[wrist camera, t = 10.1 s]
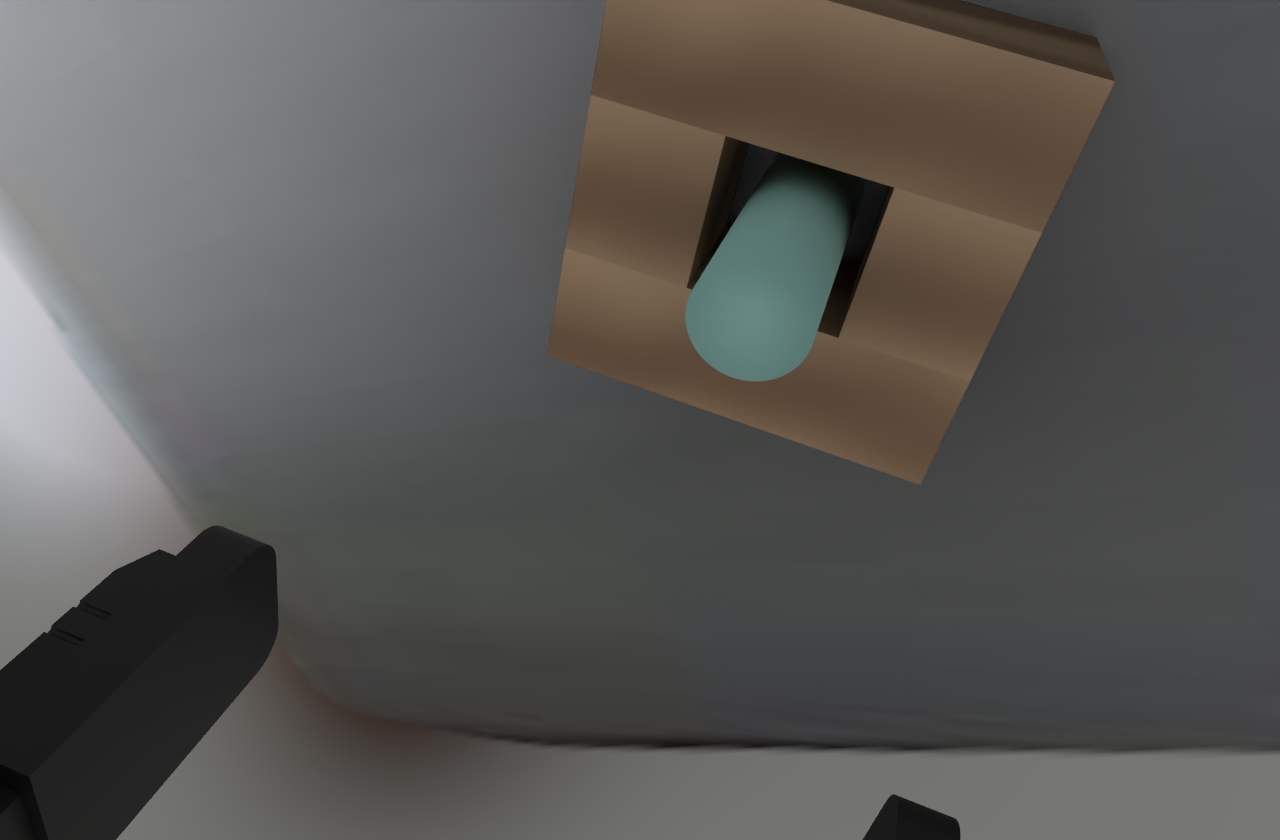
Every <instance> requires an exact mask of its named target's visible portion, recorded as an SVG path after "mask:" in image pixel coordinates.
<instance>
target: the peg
mask: <svg viewBox="0 0 1280 840" xmlns="http://www.w3.org/2000/svg"><path fill="white" fill-rule="evenodd" d="M863 192H864V178H861V177H858V176H855V175H851V174H848V173H845V172H842V171H838V170H835V169H832V168H829V167H825V166H822V165H819V164H815V163H812V162H809V161H806V160H802V159H799V158H796V157H793V156H789V155H786V154H783V153H779V152H778V153H777V155H776V156H775V158H774V159H773V161H772V162H771V164H770V166H769V167H768V169H767V170H766V172H765V174H764V175H763V177H762V179H761V180H760V182H759V183H758V185H757V187H756V188H755V190H754V191H753V193H752V195H751V196H750V198H749V199H748V201H747V203H746V204H745V206H744V207H743V209H742V211H741V212H740V214H739V216H738V217H737V219H736V220H735V222H734V224H733V225H732V227H731V228H730V230H729V232H728V233H727V235H726V236H725V238H724V240H723V241H722V243H721V245H720V246H719V248H718V249H717V251H716V253H715V254H714V256H713V257H712V259H711V261H710V262H709V264H708V265H707V267H706V269H705V270H704V272H703V273H702V275H701V277H700V278H699V280H698V282H697V283H696V285H695V286H694V288H693V290H692V292H691V294H690V296H689V298H688V301H687V306H686V314H685V320H686V327H687V332H688V335H689V337H690V340H691V342H692V344H693V346H694V348H695V349H696V351H697V352H698V353H699V355H700V356H701V357H702V358H703V359H704V360H705V361H706V362H707V363H708V364H709V365H710V366H712V367H713V368H715V369H716V370H718V371H719V372H721V373H723V374H725V375H727V376H730V377H732V378H736V379H739V380H745V381H767V380H773V379H776V378H779V377H782V376H784V375H786V374H788V373H789V372H791V371H792V370H794V369H795V368H796V367H798V366H799V365H800V364H801V363H802V362H803V360H804V359H805V358H806V356H807V355H808V353H809V352H810V349H811V347H812V345H813V342H814V339H815V336H816V333H817V330H818V327H819V324H820V321H821V318H822V315H823V312H824V309H825V306H826V303H827V300H828V297H829V294H830V291H831V288H832V285H833V282H834V279H835V276H836V274H837V271H838V268H839V265H840V262H841V259H842V256H843V253H844V250H845V247H846V244H847V241H848V238H849V235H850V232H851V229H852V226H853V223H854V220H855V217H856V214H857V211H858V208H859V205H860V202H861V199H862V196H863Z"/></svg>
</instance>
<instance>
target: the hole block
mask: <svg viewBox="0 0 1280 840" xmlns="http://www.w3.org/2000/svg"><path fill="white" fill-rule="evenodd" d="M1114 83H1115V80H1114V77H1113V75H1112V73H1111V70H1110V68H1109V66H1108V64H1107V61H1106V59H1105V57H1104V54H1103V52H1102V50H1101V47H1100V45H1099V43H1098V40H1097V38H1094V37H1090V36H1087V35H1083V34H1080V33H1076V32H1072V31H1069V30H1065V29H1062V28H1058V27H1054V26H1051V25H1047V24H1043V23H1040V22H1036V21H1033V20H1029V19H1025V18H1022V17H1018V16H1014V15H1011V14H1007V13H1004V12H1000V11H996V10H993V9H989V8H986V7H982V6H978V5H975V4H971V3H967V2H964V1H960V0H607V1H606V7H605V13H604V19H603V25H602V31H601V37H600V43H599V49H598V55H597V61H596V67H595V73H594V79H593V85H592V90H591V96H590V102H589V108H588V114H587V120H586V126H585V132H584V138H583V144H582V150H581V156H580V162H579V168H578V174H577V179H576V185H575V191H574V197H573V203H572V209H571V215H570V221H569V227H568V233H567V239H566V245H565V251H564V257H563V263H562V268H561V274H560V280H559V286H558V292H557V298H556V304H555V310H554V316H553V322H552V328H551V334H550V340H549V346H548V352H547V355H548V356H551V357H554V358H557V359H560V360H562V361H565V362H568V363H571V364H574V365H577V366H580V367H583V368H585V369H588V370H591V371H594V372H597V373H600V374H603V375H606V376H608V377H611V378H614V379H617V380H620V381H623V382H626V383H629V384H631V385H634V386H637V387H640V388H643V389H646V390H649V391H652V392H654V393H657V394H660V395H663V396H666V397H669V398H672V399H675V400H677V401H680V402H683V403H686V404H689V405H692V406H695V407H698V408H700V409H703V410H706V411H709V412H712V413H715V414H718V415H721V416H723V417H726V418H729V419H732V420H735V421H738V422H741V423H744V424H746V425H749V426H752V427H755V428H758V429H761V430H764V431H767V432H769V433H772V434H775V435H778V436H781V437H784V438H787V439H790V440H792V441H795V442H798V443H801V444H804V445H807V446H810V447H813V448H815V449H818V450H821V451H824V452H827V453H830V454H833V455H836V456H838V457H841V458H844V459H847V460H850V461H853V462H856V463H859V464H861V465H864V466H867V467H870V468H873V469H876V470H879V471H882V472H884V473H887V474H890V475H893V476H896V477H899V478H902V479H905V480H907V481H910V482H913V483H916V484H919V485H921V483H922V481H923V479H924V476H925V474H926V472H927V470H928V468H929V466H930V464H931V462H932V460H933V458H934V456H935V454H936V452H937V450H938V447H939V445H940V443H941V441H942V439H943V437H944V435H945V433H946V431H947V429H948V427H949V425H950V423H951V421H952V418H953V416H954V414H955V412H956V410H957V408H958V406H959V404H960V402H961V400H962V398H963V396H964V394H965V392H966V390H967V387H968V385H969V383H970V381H971V379H972V377H973V375H974V373H975V371H976V369H977V367H978V365H979V363H980V361H981V358H982V356H983V354H984V352H985V350H986V348H987V346H988V344H989V342H990V340H991V338H992V336H993V334H994V332H995V329H996V327H997V325H998V323H999V321H1000V319H1001V317H1002V315H1003V313H1004V311H1005V309H1006V307H1007V305H1008V303H1009V300H1010V298H1011V296H1012V294H1013V292H1014V290H1015V288H1016V286H1017V284H1018V282H1019V280H1020V278H1021V276H1022V274H1023V272H1024V269H1025V267H1026V265H1027V263H1028V261H1029V259H1030V257H1031V255H1032V253H1033V251H1034V249H1035V247H1036V245H1037V243H1038V240H1039V238H1040V236H1041V234H1042V232H1043V230H1044V228H1045V226H1046V224H1047V222H1048V220H1049V218H1050V216H1051V214H1052V211H1053V209H1054V207H1055V205H1056V203H1057V201H1058V199H1059V197H1060V195H1061V193H1062V191H1063V189H1064V187H1065V185H1066V183H1067V180H1068V178H1069V176H1070V174H1071V172H1072V170H1073V168H1074V166H1075V164H1076V162H1077V160H1078V158H1079V156H1080V154H1081V151H1082V149H1083V147H1084V145H1085V143H1086V141H1087V139H1088V137H1089V135H1090V133H1091V131H1092V129H1093V127H1094V125H1095V122H1096V120H1097V118H1098V116H1099V114H1100V112H1101V110H1102V108H1103V106H1104V104H1105V102H1106V100H1107V98H1108V96H1109V93H1110V91H1111V89H1112V87H1113V85H1114ZM749 143H750V144H753V145H757V146H760V147H763V148H766V149H770V150H773V151H776V152H779V153H783V154H786V155H789V156H793V157H796V158H799V159H802V160H806V161H809V162H812V163H815V164H819V165H822V166H825V167H829V168H832V169H835V170H838V171H842V172H845V173H848V174H851V175H855V176H858V177H861V178H864V179H868V180H871V181H874V182H878V183H881V184H884V185H887V186H889V189H888V192H887V194H886V197H885V200H884V202H883V205H882V208H881V210H880V213H879V216H878V219H877V221H876V224H875V227H874V229H873V232H872V235H871V237H870V240H869V243H868V246H867V248H866V251H865V254H864V256H863V259H862V262H861V264H860V267H859V269H858V268H855V267H852V266H849V265H846V264H843V263H840V265H839V268H838V271H837V274H836V276H835V279H834V282H833V285H832V288H831V291H830V294H829V297H828V300H827V303H826V306H825V309H824V312H823V315H822V318H821V321H820V324H819V327H818V330H817V333H816V336H815V339H814V342H813V345H812V347H811V349H810V352H809V353H808V355H807V356H806V358H805V359H804V360H803V362H802V363H801V364H800V365H799V366H798V367H796V368H795V369H794V370H792V371H791V372H789V373H788V374H786V375H784V376H782V377H779V378H776V379H773V380H767V381H745V380H739V379H736V378H732V377H730V376H727V375H725V374H723V373H721V372H719V371H718V370H716V369H715V368H713V367H712V366H710V365H709V364H708V363H707V362H706V361H705V360H704V359H703V358H702V357H701V356H700V355H699V353H698V352H697V351H696V349H695V348H694V346H693V344H692V342H691V340H690V337H689V335H688V332H687V327H686V320H685V314H686V306H687V301H688V298H689V296H690V294H691V292H692V290H693V288H694V286H695V285H696V283H697V282H698V280H699V278H700V277H701V275H702V273H703V272H704V270H705V269H706V267H707V265H708V264H709V262H710V261H711V259H712V257H713V256H714V254H715V253H716V251H717V249H718V248H719V246H720V245H721V243H722V241H723V240H724V238H725V236H726V235H727V233H728V232H729V230H730V227H727V226H726V225H727V221H728V217H729V214H730V210H731V206H732V203H733V199H734V195H735V192H736V188H737V184H738V181H739V177H740V173H741V170H742V166H743V162H744V159H745V155H746V151H747V148H748V144H749Z"/></svg>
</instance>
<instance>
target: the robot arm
mask: <svg viewBox="0 0 1280 840" xmlns="http://www.w3.org/2000/svg"><path fill="white" fill-rule="evenodd" d="M277 632H278V597H277V570H276V553H275V551H274V549H273V547H271V546H270V545H267V544H265V543H262V542H260V541H257V540H255V539H252V538H250V537H247V536H244V535H242V534H239V533H237V532H234V531H232V530H229V529H227V528H224V527H222V526H212V527H209V528H207V529H206V530H204V531H203V532H202V533H200V534H199V535H198V536H197V537H196V538H195V539H194V540H193V541H192V542H190V544H188V545H187V546H186V547H185V548H184V549H183V550H182V551H181V552H180V553H179V554H177V555H176V556H175V555H172V554H170V553H167V552H165V551H162V550H160V549H159V550H157V551H155V552H153V553H151V554H149V555H147V556H144V557H142V558H140V559H138V560H136V561H134V562H132V563H129V564H127V565H125V566H123V567H121V568H119V569H117V570H115V571H114V572H112V573H111V574H110V575H109V576H108V577H107V578H105V579H104V580H103V581H102V582H101V583H100V584H99V585H97V586H96V587H95V588H94V589H93V590H92V591H91V592H90V593H88V594H87V595H86V596H85V597H84V598H83V599H81V600H80V604H79V605H78V606H77V607H76V608H75V607H72V608H71V609H70V610H69V611H68V612H67V613H65V614H64V615H63V616H62V617H61V618H60V619H58V621H56V622H55V623H54V624H53V625H52V627H51V630H50V631H49V632H48V633H45V632H44V633H43V634H41V635H40V636H39V637H38V638H37V639H36V640H35V641H33V642H32V643H31V644H30V645H29V646H28V647H27V648H25V649H24V650H23V651H22V652H21V653H20V654H18V655H17V656H16V657H15V658H14V659H13V660H12V661H10V662H9V663H8V664H7V665H6V666H5V667H4V668H2V669H1V670H0V840H116V839H117V838H118V836H119V835H120V834H121V833H122V832H123V831H124V829H125V828H126V827H127V826H128V825H129V824H130V822H131V821H132V820H133V819H134V818H135V816H136V815H137V814H138V813H139V812H140V810H141V809H142V808H143V807H144V806H145V805H146V804H147V802H148V801H149V800H150V799H151V798H152V796H153V795H154V794H155V793H156V792H157V791H158V789H159V788H160V787H161V786H162V785H163V783H164V782H165V781H166V780H167V779H168V777H169V776H170V775H171V774H172V773H173V772H174V771H175V769H176V768H177V767H178V766H179V765H180V763H181V762H182V761H183V760H184V759H185V758H186V756H187V755H188V754H189V753H190V752H191V750H192V749H193V748H194V747H195V746H196V744H197V743H198V742H199V741H200V740H201V739H202V737H203V736H204V735H205V734H206V733H207V731H208V730H209V729H210V728H211V727H212V726H213V724H214V723H215V722H216V721H217V720H218V719H219V717H220V716H221V715H222V714H223V713H224V711H225V710H226V709H227V708H228V707H229V706H230V704H231V703H232V702H233V701H234V700H235V699H236V697H237V696H238V695H239V694H240V692H241V691H242V690H243V689H244V688H245V687H246V686H247V684H248V683H249V682H250V680H252V678H253V677H254V676H255V675H256V674H257V672H258V671H259V670H260V668H261V667H262V666H263V664H264V663H265V661H266V659H267V658H268V656H269V654H270V652H271V650H272V647H273V645H274V642H275V639H276V636H277ZM863 840H960V827H959V823H958V821H957V820H956V819H955V818H953V817H950V816H948V815H945V814H943V813H940V812H937V811H935V810H932V809H929V808H927V807H925V806H922V805H920V804H917V803H915V802H912V801H910V800H907V799H904V798H902V797H899V796H897V795H891V796H890V797H889V798H888V800H887V801H886V803H885V804H884V806H883V808H882V809H881V811H880V812H879V814H878V816H877V817H876V819H875V821H874V822H873V824H872V825H871V827H870V829H869V830H868V832H867V834H866V835H865V837H864V838H863Z"/></svg>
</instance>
